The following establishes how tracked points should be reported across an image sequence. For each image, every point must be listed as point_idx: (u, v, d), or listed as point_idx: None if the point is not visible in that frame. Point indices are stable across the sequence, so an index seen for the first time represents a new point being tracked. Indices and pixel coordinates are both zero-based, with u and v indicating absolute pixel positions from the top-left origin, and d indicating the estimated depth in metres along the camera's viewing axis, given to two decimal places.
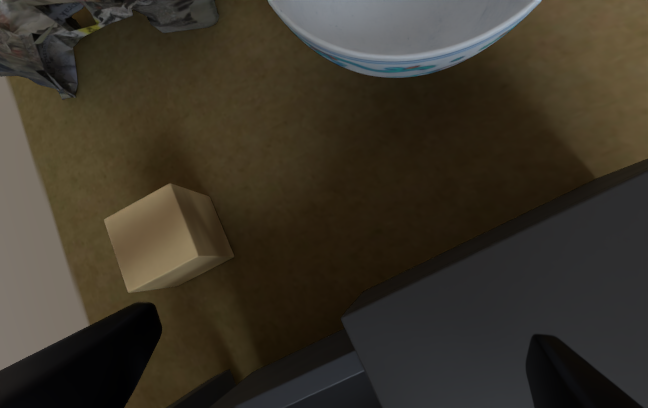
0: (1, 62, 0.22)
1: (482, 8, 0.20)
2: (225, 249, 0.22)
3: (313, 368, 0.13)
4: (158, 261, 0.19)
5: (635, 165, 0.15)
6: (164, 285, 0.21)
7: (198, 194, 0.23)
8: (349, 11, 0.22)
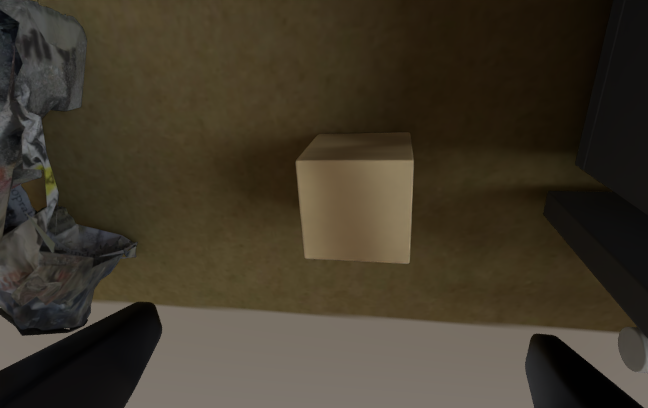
0: (71, 297, 0.18)
1: None
2: (399, 136, 0.16)
3: None
4: (391, 214, 0.14)
5: None
6: None
7: (314, 141, 0.16)
8: None
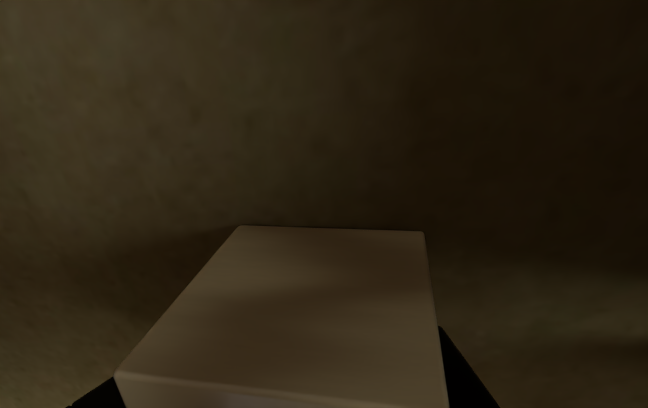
0: None
1: None
2: (401, 249, 0.07)
3: None
4: None
5: None
6: None
7: (216, 259, 0.07)
8: None
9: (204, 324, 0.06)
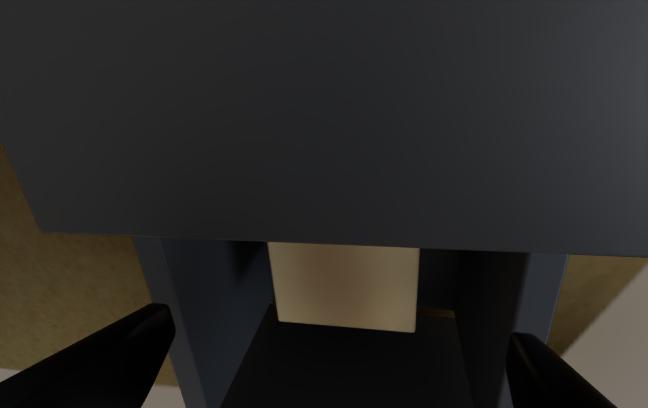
0: None
1: None
2: None
3: (146, 275, 0.10)
4: (391, 271, 0.10)
5: None
6: None
7: None
8: None
9: None
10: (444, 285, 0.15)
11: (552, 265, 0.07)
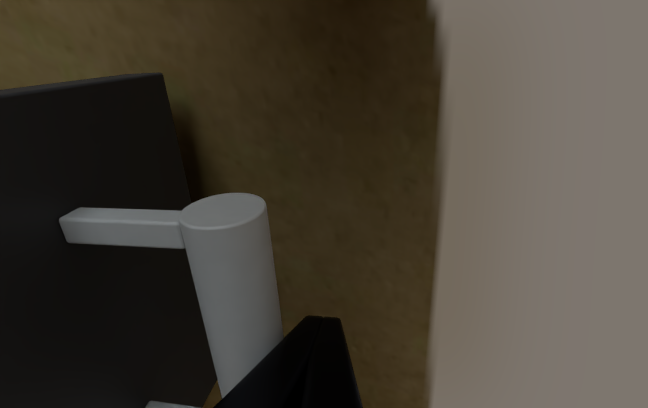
0: None
1: None
2: None
3: None
4: None
5: None
6: None
7: None
8: None
9: None
10: None
11: None
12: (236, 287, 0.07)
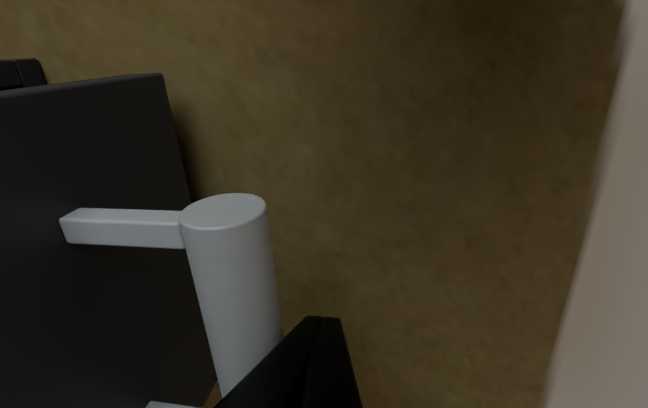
0: None
1: None
2: None
3: None
4: None
5: None
6: None
7: None
8: None
9: None
10: None
11: None
12: (236, 287, 0.07)
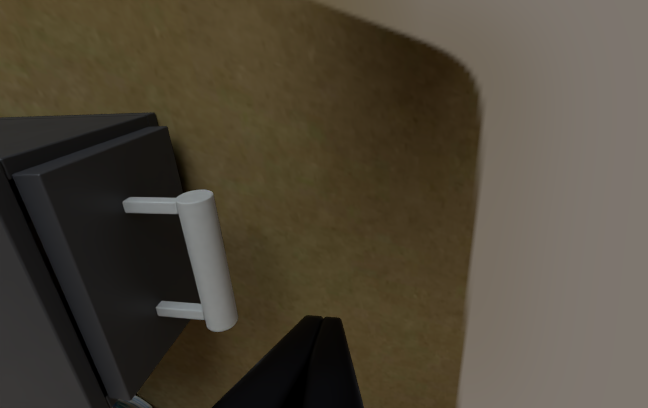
0: None
1: None
2: None
3: None
4: None
5: None
6: None
7: None
8: None
9: None
10: None
11: None
12: (199, 229, 0.15)
